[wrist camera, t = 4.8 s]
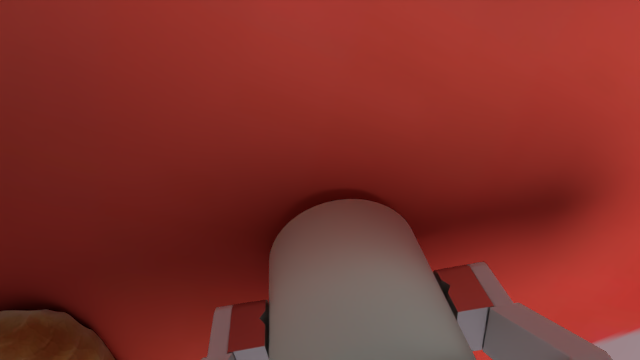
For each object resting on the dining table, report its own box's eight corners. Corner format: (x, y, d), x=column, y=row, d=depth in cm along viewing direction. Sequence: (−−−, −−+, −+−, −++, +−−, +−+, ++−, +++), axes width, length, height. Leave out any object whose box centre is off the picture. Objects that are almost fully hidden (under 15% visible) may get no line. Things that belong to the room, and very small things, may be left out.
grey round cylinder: (283, 321, 14) (288, 479, 10) (254, 213, 12) (245, 366, 7) (415, 297, 14) (475, 444, 10) (416, 186, 12) (498, 322, 8)
